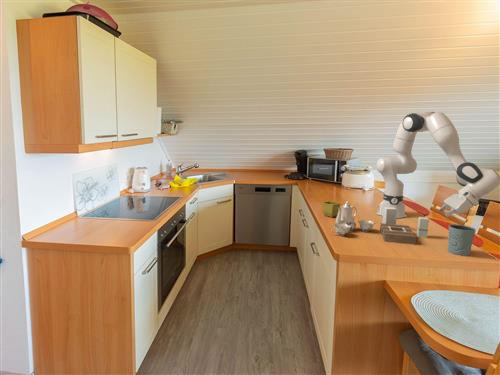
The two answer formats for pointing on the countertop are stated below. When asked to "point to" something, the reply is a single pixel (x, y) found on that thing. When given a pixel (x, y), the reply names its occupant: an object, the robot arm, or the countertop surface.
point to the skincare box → (389, 215)
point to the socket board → (397, 233)
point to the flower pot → (330, 208)
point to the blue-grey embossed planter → (460, 239)
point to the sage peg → (422, 227)
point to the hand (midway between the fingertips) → (442, 213)
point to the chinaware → (349, 221)
